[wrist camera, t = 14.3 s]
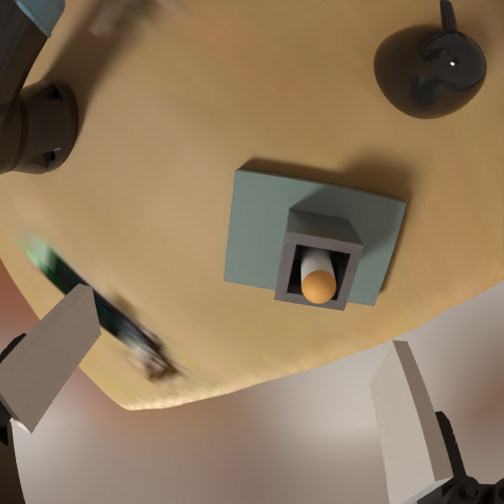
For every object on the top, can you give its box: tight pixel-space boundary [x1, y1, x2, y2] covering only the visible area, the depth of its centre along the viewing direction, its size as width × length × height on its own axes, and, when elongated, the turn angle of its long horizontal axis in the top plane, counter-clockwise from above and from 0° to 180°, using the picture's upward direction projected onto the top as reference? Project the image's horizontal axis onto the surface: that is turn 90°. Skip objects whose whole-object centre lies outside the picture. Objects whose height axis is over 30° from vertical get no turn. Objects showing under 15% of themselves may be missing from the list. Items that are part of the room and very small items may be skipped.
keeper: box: [224, 168, 406, 306], centre depth 29 cm, size 20×14×14 cm
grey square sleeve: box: [274, 209, 364, 311], centre depth 30 cm, size 7×7×8 cm
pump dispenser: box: [374, 0, 487, 119], centre depth 19 cm, size 10×10×15 cm
